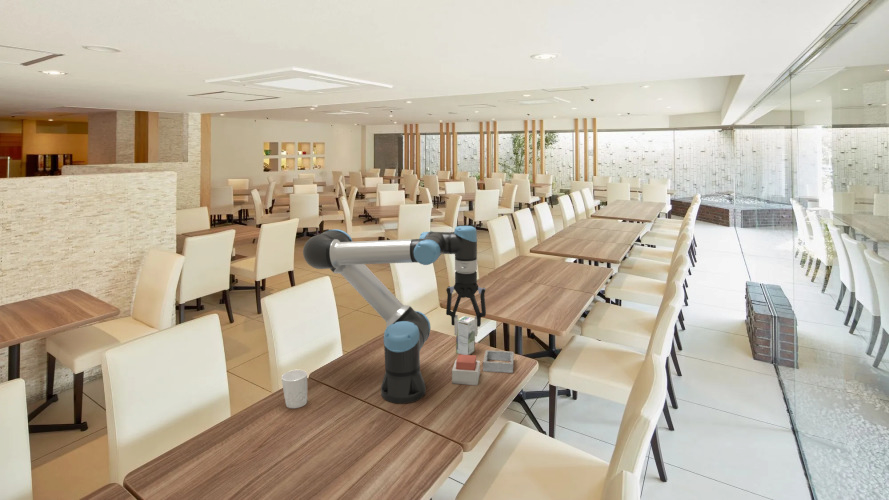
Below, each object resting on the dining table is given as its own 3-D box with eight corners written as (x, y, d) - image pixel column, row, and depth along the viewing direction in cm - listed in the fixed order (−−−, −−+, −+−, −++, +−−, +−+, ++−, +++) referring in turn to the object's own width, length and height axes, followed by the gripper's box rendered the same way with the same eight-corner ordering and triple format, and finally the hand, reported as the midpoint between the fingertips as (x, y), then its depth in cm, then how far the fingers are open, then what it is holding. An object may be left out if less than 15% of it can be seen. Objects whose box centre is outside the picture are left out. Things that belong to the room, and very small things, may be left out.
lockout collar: (483, 371, 170) (483, 362, 170) (485, 358, 181) (485, 350, 180) (512, 373, 168) (513, 364, 168) (513, 360, 179) (513, 351, 178)
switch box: (452, 383, 161) (452, 370, 160) (455, 371, 170) (455, 359, 169) (477, 385, 160) (477, 372, 159) (479, 373, 169) (479, 360, 168)
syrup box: (462, 348, 191) (462, 315, 188) (475, 351, 188) (475, 317, 185) (455, 353, 186) (455, 319, 183) (468, 356, 183) (468, 322, 180)
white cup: (294, 395, 155) (292, 368, 153) (314, 399, 152) (311, 371, 150) (278, 407, 148) (276, 378, 146) (298, 411, 145) (296, 382, 143)
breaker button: (456, 375, 162) (456, 362, 161) (458, 367, 168) (458, 354, 167) (474, 376, 161) (474, 363, 160) (476, 368, 167) (476, 355, 166)
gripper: (436, 273, 155) (437, 336, 160) (493, 274, 152) (492, 339, 156) (440, 267, 162) (441, 328, 167) (494, 269, 159) (494, 331, 164)
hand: (466, 334), depth 162 cm, fingers open, 6 cm apart
